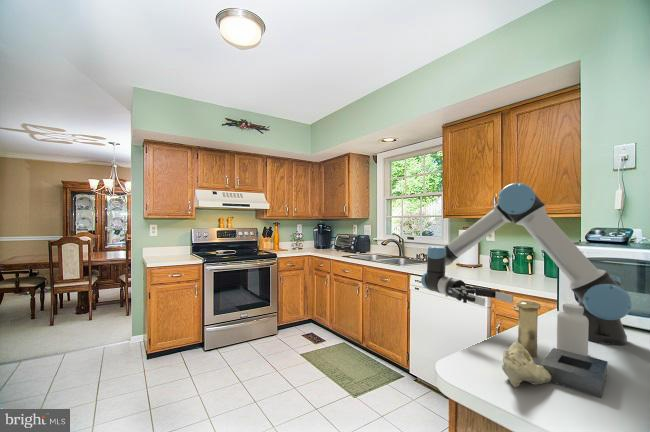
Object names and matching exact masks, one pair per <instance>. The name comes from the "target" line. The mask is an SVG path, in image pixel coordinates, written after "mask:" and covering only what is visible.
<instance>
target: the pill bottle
mask: <svg viewBox="0 0 650 432" xmlns="http://www.w3.org/2000/svg"><path fill="white" fill-rule="evenodd" d="M561 310H562V311H560V312H558V313H557V318H556V349H560V350H564V351H568V352H572V353H576V354H580V355H584V356H588V355H589V340H588V328H589V321H588V318H587V317H586V316H584V315H582V314H583V312H584V308H583V307H582V306H579V304H573V303H563V304H562V309H561Z"/></svg>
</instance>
